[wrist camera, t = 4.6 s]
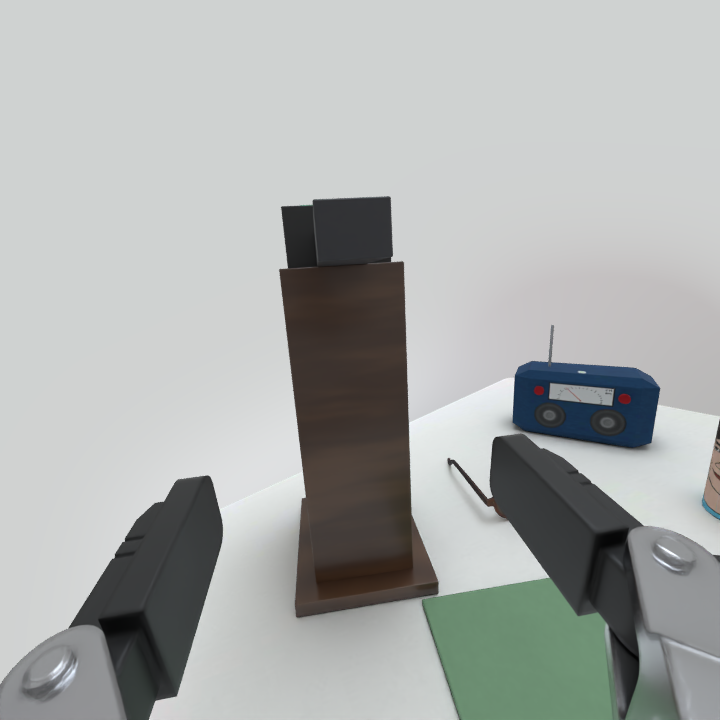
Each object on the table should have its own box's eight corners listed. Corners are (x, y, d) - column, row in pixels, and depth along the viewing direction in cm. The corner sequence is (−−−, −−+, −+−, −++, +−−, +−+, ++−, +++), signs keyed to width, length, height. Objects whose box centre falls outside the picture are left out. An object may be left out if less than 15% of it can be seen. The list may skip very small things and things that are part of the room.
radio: (511, 431, 65) (516, 328, 60) (516, 414, 73) (521, 321, 68) (651, 454, 55) (672, 332, 50) (641, 431, 62) (658, 323, 57)
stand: (438, 593, 34) (436, 258, 26) (296, 617, 32) (247, 270, 24) (400, 494, 49) (391, 265, 41) (303, 507, 48) (274, 272, 40)
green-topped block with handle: (438, 254, 18) (437, 146, 17) (269, 264, 17) (255, 151, 16) (374, 266, 39) (371, 217, 37) (294, 271, 38) (289, 221, 36)
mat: (783, 819, 19) (785, 813, 19) (515, 892, 17) (516, 886, 17) (574, 577, 35) (575, 573, 34) (422, 603, 33) (422, 599, 33)
